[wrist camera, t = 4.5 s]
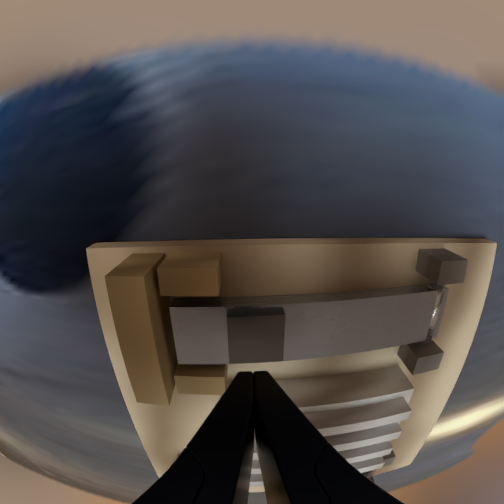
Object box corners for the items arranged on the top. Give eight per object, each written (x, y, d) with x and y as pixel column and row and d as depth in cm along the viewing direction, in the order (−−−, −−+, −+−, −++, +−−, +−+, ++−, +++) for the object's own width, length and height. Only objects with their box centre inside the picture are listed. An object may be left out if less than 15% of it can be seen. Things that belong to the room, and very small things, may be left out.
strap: (439, 278, 11) (453, 288, 10) (426, 332, 12) (438, 343, 11) (173, 293, 11) (167, 307, 9) (181, 354, 11) (177, 371, 10)
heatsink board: (485, 238, 12) (535, 259, 8) (406, 456, 17) (421, 489, 14) (96, 242, 12) (46, 272, 8) (166, 477, 17) (158, 516, 13)
